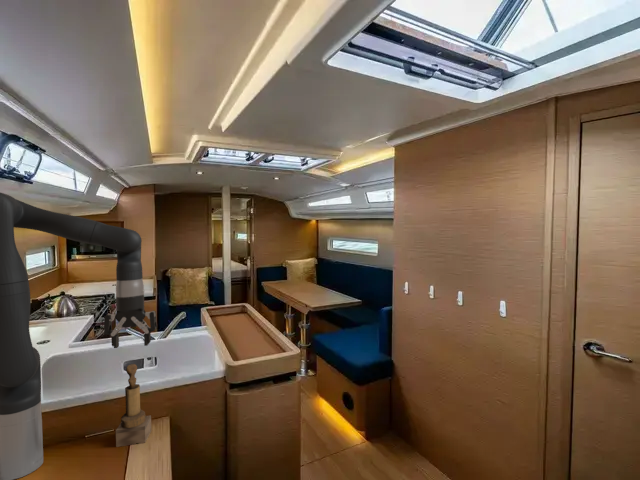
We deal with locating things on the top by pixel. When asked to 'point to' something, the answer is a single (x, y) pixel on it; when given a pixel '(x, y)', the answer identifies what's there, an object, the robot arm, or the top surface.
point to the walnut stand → (133, 433)
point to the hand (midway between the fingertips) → (131, 346)
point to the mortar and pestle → (132, 401)
